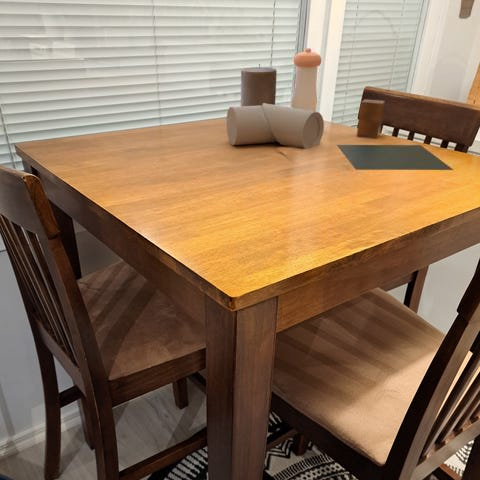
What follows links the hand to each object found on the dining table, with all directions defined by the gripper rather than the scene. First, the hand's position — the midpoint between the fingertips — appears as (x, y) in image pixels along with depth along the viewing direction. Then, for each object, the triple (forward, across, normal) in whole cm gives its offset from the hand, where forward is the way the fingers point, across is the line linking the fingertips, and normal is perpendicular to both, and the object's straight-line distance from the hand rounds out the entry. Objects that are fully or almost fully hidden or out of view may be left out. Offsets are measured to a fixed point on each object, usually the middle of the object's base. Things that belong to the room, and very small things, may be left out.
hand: (464, 18), depth 101 cm
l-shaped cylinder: (+27, -11, +36) cm, 46 cm away
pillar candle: (+27, +10, +49) cm, 57 cm away
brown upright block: (+27, +5, +17) cm, 32 cm away
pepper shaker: (+27, +10, +35) cm, 46 cm away
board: (+27, -13, +8) cm, 31 cm away
